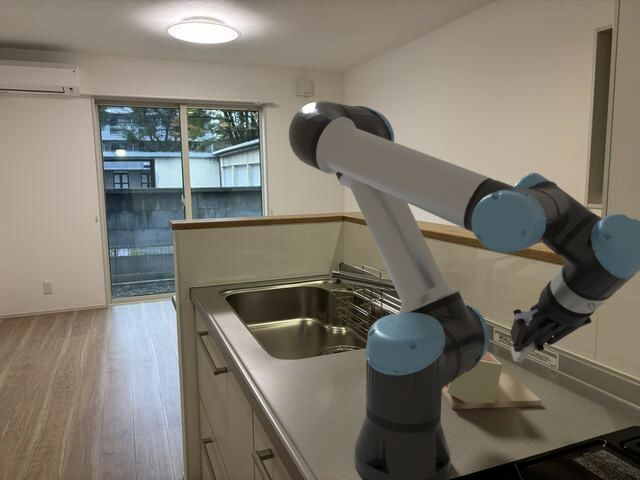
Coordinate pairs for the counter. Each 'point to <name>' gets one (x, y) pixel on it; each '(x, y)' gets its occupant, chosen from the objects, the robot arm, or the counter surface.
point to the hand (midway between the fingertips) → (515, 355)
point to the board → (500, 395)
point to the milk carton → (478, 382)
